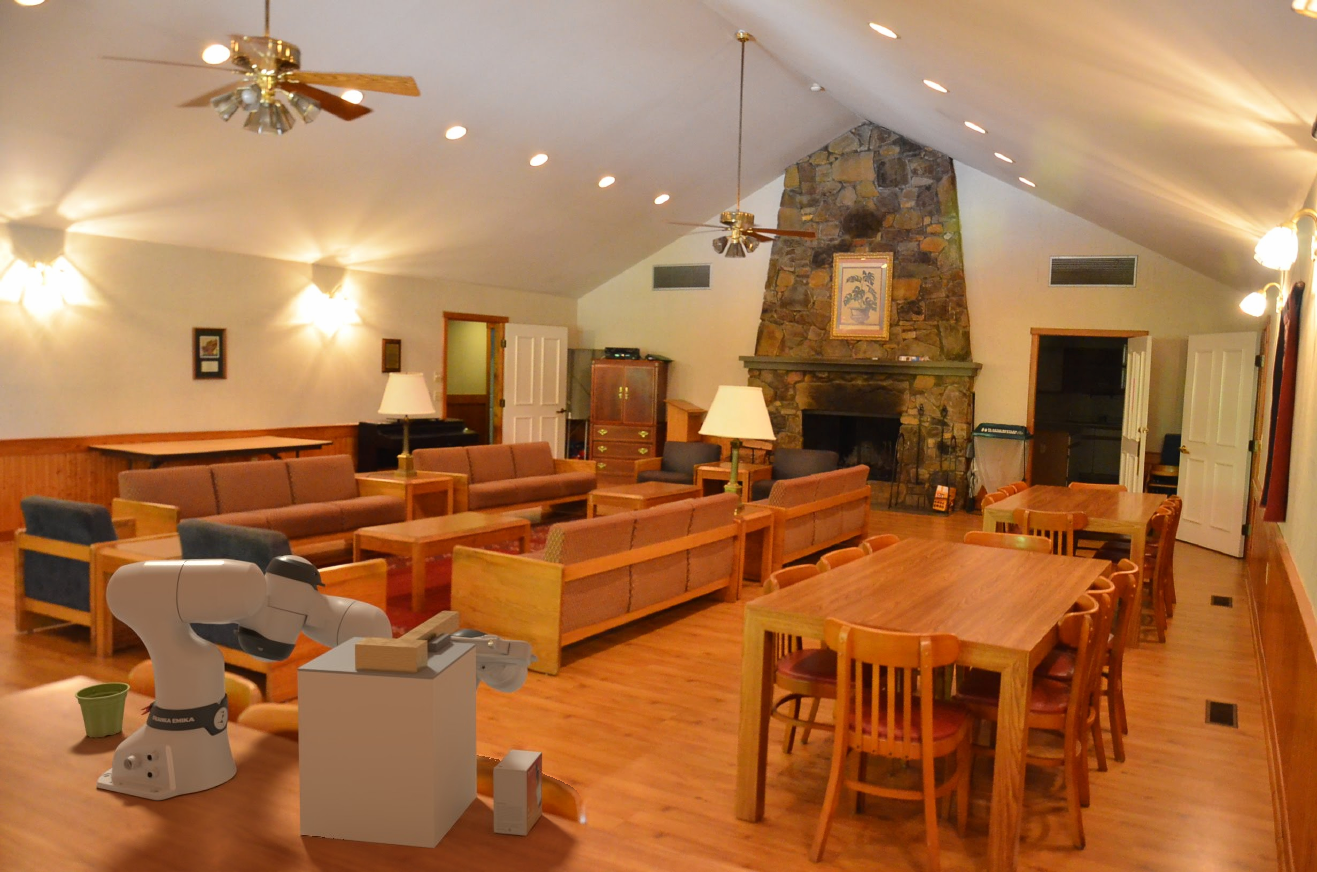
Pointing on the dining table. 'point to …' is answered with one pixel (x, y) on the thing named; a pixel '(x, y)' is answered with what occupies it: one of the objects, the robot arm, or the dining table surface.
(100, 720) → the plant pot
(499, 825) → the small box
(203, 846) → the dining table surface
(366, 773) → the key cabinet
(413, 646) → the wooden t-shaped block
